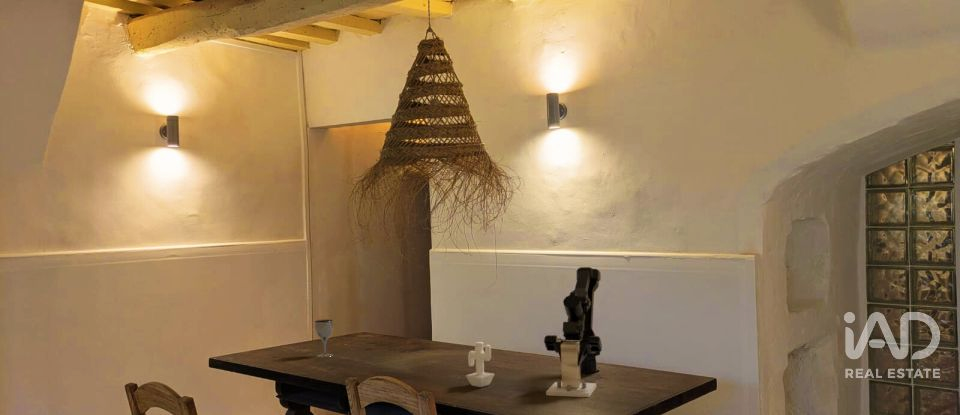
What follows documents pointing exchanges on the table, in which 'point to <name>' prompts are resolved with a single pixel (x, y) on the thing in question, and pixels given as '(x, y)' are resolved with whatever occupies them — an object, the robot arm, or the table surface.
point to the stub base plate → (571, 390)
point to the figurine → (479, 365)
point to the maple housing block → (570, 364)
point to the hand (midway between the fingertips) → (570, 364)
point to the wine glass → (324, 333)
